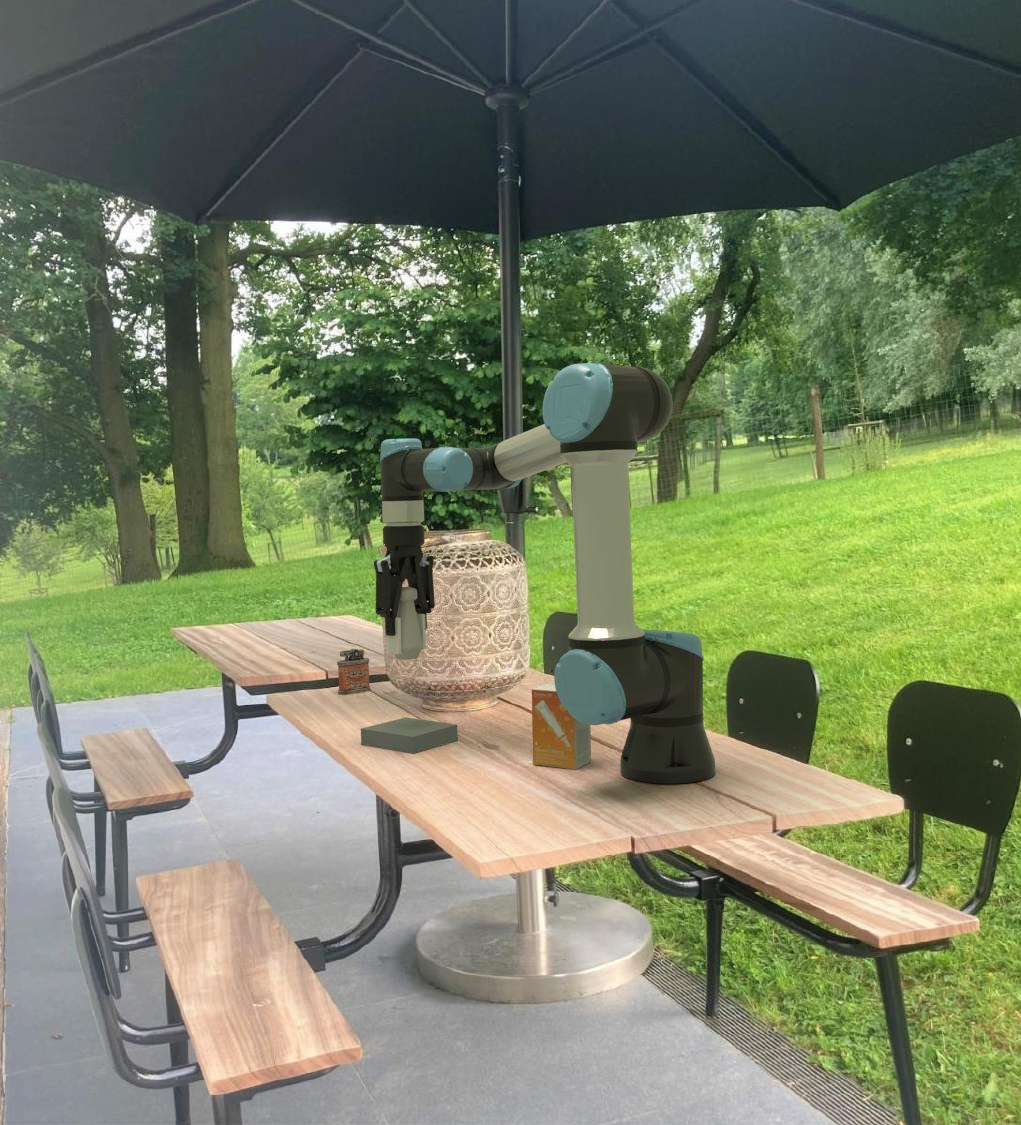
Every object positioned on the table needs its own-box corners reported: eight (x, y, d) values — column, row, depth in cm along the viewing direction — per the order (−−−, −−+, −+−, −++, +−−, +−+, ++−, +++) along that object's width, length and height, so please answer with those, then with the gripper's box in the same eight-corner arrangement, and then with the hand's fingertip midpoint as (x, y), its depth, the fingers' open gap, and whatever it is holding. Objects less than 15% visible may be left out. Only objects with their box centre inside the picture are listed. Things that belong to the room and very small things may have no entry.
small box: (532, 765, 197) (530, 688, 197) (549, 757, 203) (547, 682, 202) (576, 770, 194) (574, 691, 193) (592, 761, 199) (590, 685, 198)
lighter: (365, 689, 275) (363, 646, 274) (373, 690, 272) (371, 647, 272) (335, 693, 270) (333, 650, 269) (343, 695, 267) (341, 651, 267)
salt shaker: (418, 660, 212) (415, 588, 211) (387, 660, 214) (385, 588, 213) (426, 655, 218) (424, 585, 217) (397, 655, 219) (394, 585, 218)
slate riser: (457, 740, 218) (457, 724, 218) (413, 753, 208) (412, 736, 208) (406, 732, 226) (405, 717, 226) (361, 744, 216) (360, 728, 216)
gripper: (423, 521, 224) (426, 643, 225) (351, 526, 209) (355, 656, 211) (453, 522, 219) (456, 645, 221) (381, 527, 204) (385, 659, 206)
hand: (407, 650), depth 216 cm, fingers closed on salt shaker, 6 cm apart
